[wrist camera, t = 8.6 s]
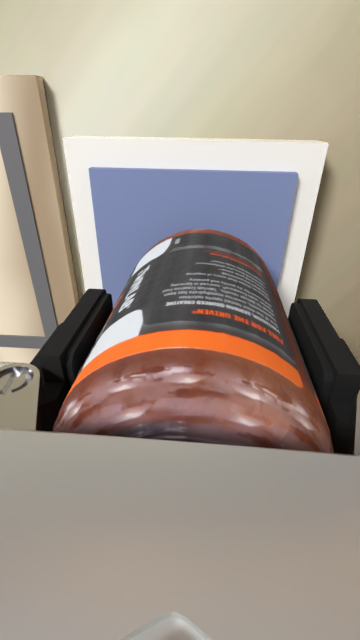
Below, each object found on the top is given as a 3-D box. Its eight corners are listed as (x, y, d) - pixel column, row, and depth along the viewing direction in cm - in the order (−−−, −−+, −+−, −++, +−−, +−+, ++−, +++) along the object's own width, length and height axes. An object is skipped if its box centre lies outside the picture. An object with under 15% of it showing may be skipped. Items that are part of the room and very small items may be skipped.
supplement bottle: (114, 239, 13) (-154, 541, 4) (266, 210, 12) (469, 525, 3) (150, 359, 16) (56, 711, 6) (277, 344, 15) (393, 736, 5)
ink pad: (317, 140, 14) (332, 143, 12) (276, 341, 19) (283, 362, 17) (75, 135, 14) (58, 138, 13) (101, 333, 19) (91, 353, 18)
